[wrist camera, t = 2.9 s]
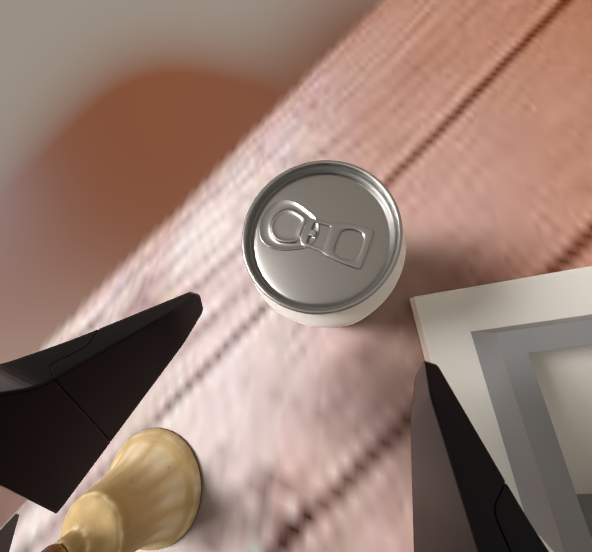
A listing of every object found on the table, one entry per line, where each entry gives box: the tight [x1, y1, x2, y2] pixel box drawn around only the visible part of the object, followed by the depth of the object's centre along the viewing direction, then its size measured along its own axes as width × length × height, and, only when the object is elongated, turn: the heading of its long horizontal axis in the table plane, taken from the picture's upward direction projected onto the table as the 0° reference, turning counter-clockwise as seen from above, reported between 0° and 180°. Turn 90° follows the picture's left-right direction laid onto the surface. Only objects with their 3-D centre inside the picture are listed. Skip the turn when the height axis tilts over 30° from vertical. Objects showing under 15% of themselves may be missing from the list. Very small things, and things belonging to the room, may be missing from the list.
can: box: [242, 160, 406, 327], centre depth 15 cm, size 6×6×12 cm
